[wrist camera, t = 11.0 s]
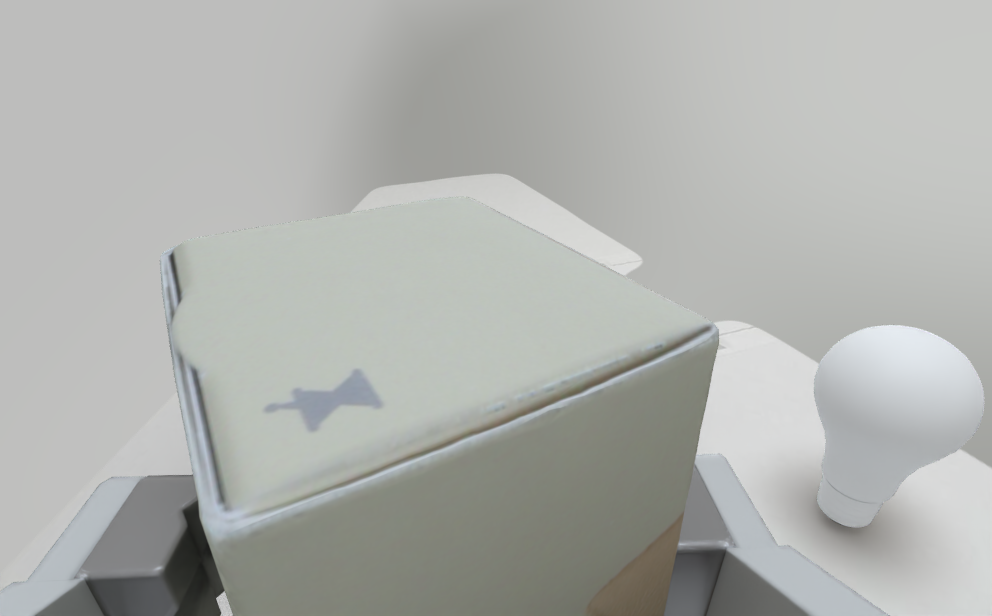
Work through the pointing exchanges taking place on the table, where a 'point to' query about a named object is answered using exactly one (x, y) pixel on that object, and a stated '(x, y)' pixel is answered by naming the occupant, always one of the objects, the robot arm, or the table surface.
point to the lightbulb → (889, 414)
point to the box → (433, 416)
